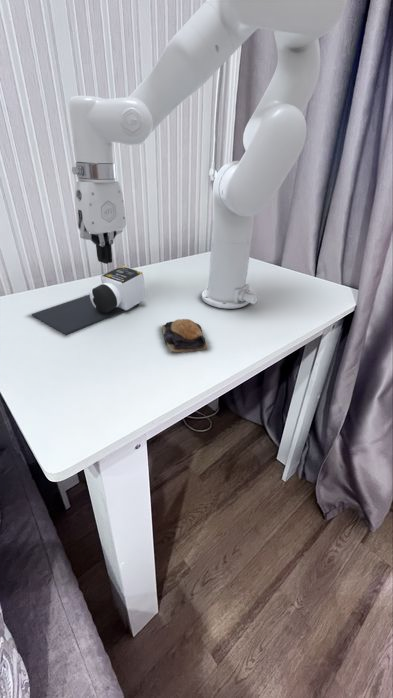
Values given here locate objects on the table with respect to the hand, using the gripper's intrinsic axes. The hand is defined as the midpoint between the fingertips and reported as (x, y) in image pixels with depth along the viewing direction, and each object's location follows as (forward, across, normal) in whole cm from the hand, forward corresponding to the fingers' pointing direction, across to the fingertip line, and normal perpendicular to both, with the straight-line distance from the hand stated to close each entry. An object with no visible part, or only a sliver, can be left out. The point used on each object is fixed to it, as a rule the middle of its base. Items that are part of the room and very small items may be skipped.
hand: (105, 261), depth 77 cm
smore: (+10, -1, -25) cm, 27 cm away
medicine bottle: (+5, +6, -4) cm, 9 cm away
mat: (+10, -6, 0) cm, 12 cm away
